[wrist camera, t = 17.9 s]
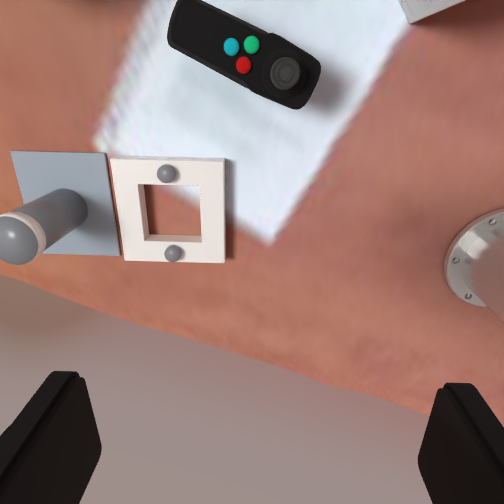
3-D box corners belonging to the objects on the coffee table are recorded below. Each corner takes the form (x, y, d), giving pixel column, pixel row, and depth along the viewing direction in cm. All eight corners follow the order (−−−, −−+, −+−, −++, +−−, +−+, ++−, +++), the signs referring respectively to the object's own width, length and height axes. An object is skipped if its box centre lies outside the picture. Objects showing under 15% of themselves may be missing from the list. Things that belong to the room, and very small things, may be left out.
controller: (294, 111, 36) (306, 119, 27) (178, 53, 34) (149, 40, 25) (315, 67, 34) (335, 60, 25) (194, 3, 32) (169, -30, 23)
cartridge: (61, 179, 39) (0, 205, 30) (96, 208, 40) (47, 242, 31) (39, 207, 40) (-27, 240, 31) (73, 234, 41) (20, 274, 32)
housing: (224, 158, 38) (222, 163, 35) (225, 255, 43) (223, 266, 40) (117, 155, 38) (107, 160, 35) (130, 252, 43) (122, 263, 40)
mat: (105, 153, 38) (104, 153, 38) (120, 254, 43) (119, 255, 43) (12, 150, 38) (10, 151, 38) (38, 252, 43) (36, 253, 43)
